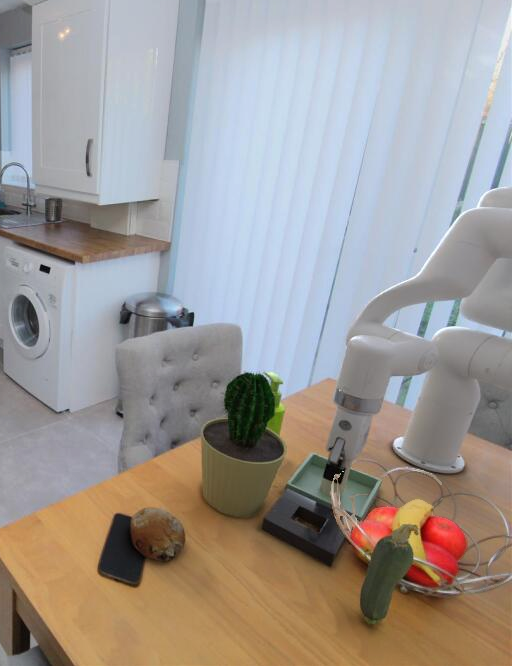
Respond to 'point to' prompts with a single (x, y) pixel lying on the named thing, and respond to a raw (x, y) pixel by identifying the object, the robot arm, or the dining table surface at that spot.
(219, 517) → the dining table surface
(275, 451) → the potted cactus
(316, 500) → the green tray
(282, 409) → the soap dispenser
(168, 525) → the bread roll
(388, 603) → the vegetable
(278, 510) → the block
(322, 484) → the plug
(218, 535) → the dining table surface
